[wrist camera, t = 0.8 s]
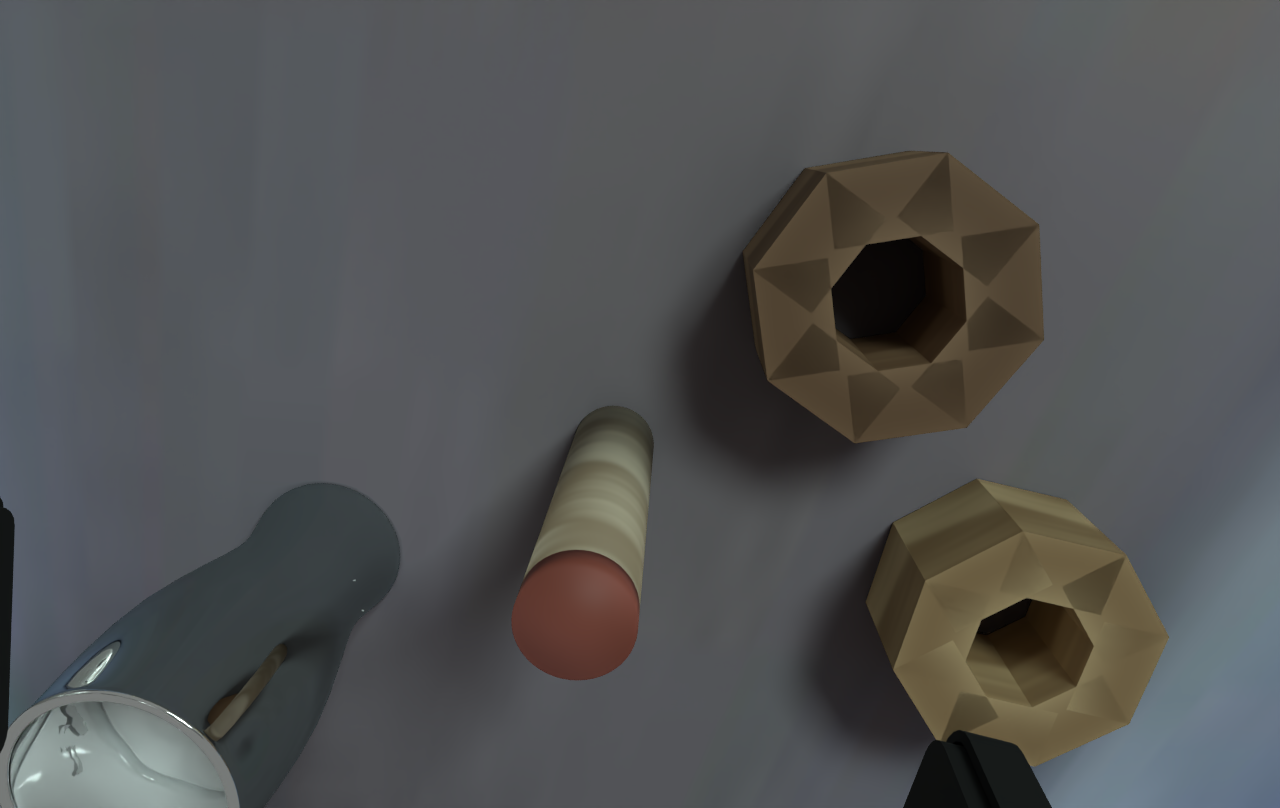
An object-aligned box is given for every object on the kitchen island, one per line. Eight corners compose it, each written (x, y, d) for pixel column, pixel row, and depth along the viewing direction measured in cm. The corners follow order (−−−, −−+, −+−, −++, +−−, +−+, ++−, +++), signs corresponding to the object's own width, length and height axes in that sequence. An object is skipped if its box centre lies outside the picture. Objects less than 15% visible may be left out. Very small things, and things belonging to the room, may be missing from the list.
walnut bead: (882, 439, 35) (914, 486, 31) (700, 307, 34) (703, 334, 29) (1040, 254, 33) (1102, 274, 28) (851, 106, 32) (881, 99, 27)
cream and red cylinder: (623, 495, 36) (590, 701, 23) (559, 451, 36) (487, 636, 23) (669, 435, 36) (663, 613, 22) (604, 390, 35) (557, 543, 22)
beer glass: (298, 642, 39) (76, 933, 25) (219, 505, 37) (-68, 733, 23) (439, 591, 38) (294, 863, 24) (365, 448, 36) (159, 649, 22)
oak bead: (1049, 701, 38) (1102, 782, 34) (847, 655, 38) (871, 729, 33) (1129, 514, 36) (1199, 572, 31) (913, 463, 36) (949, 513, 31)
